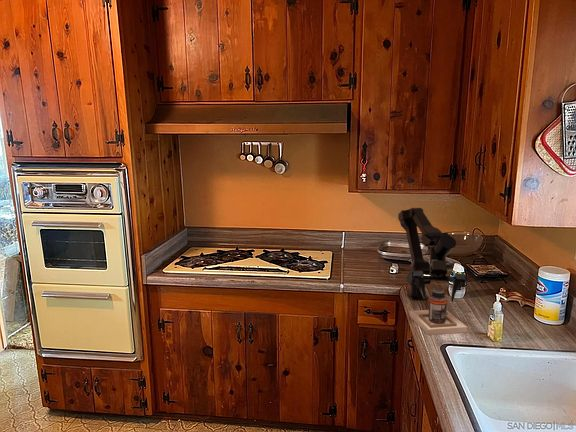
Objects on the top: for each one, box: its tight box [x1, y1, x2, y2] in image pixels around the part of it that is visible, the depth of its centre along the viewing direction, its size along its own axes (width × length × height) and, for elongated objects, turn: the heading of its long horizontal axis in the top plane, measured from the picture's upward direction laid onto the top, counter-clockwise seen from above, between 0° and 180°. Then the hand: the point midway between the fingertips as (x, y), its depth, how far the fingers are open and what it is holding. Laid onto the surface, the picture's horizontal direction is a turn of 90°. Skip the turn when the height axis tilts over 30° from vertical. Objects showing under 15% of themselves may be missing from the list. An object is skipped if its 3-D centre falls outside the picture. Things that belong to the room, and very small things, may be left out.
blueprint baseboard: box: [409, 309, 468, 336], centre depth 155 cm, size 16×14×3 cm
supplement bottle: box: [428, 288, 448, 324], centre depth 152 cm, size 6×6×11 cm
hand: (438, 300), depth 151 cm, fingers open, 9 cm apart
